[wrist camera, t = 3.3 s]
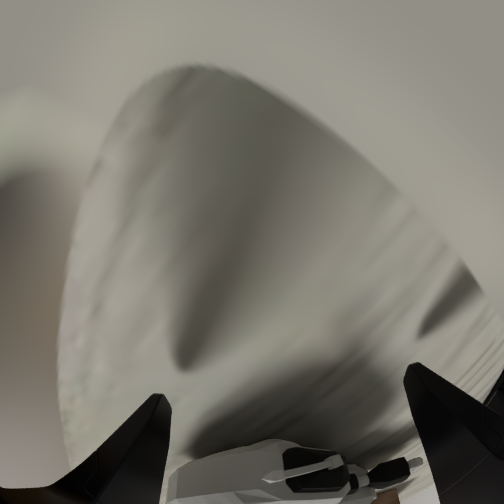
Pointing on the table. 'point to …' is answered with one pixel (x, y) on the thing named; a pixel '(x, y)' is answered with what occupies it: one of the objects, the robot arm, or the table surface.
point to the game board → (387, 498)
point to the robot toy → (282, 477)
